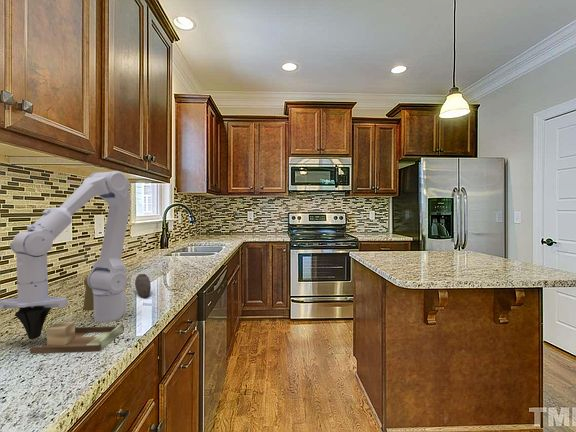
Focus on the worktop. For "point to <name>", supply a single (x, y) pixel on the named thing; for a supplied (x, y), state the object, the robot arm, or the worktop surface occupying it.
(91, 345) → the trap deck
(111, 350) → the worktop surface
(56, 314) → the worktop surface
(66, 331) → the maple cube
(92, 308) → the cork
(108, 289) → the robot arm
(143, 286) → the perforated stone tool
